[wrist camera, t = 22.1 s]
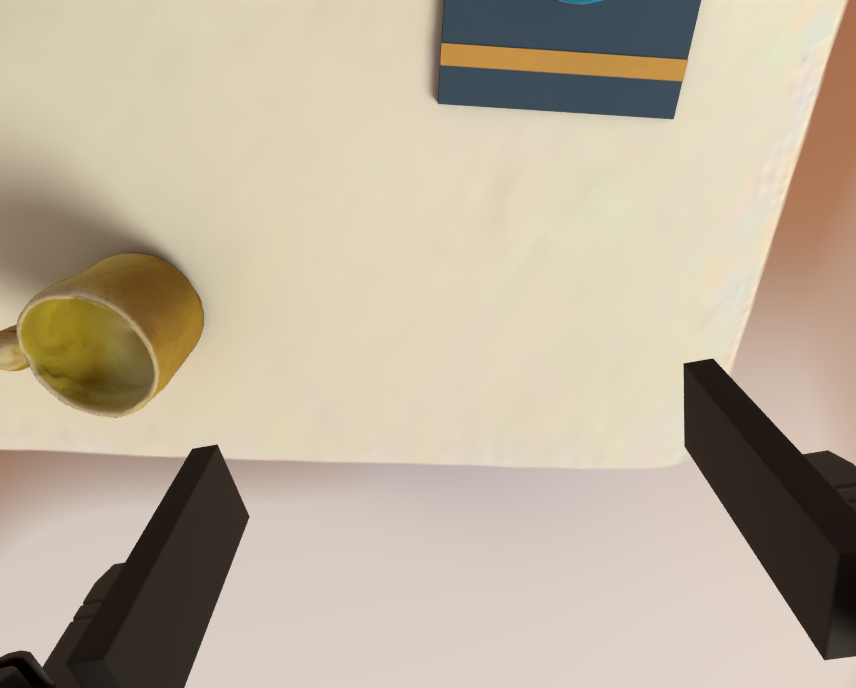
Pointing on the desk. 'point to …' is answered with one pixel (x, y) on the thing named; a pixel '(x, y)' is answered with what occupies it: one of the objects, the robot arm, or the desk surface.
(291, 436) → the desk surface
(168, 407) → the desk surface
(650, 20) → the tea towel
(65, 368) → the mug
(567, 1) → the beverage bottle
